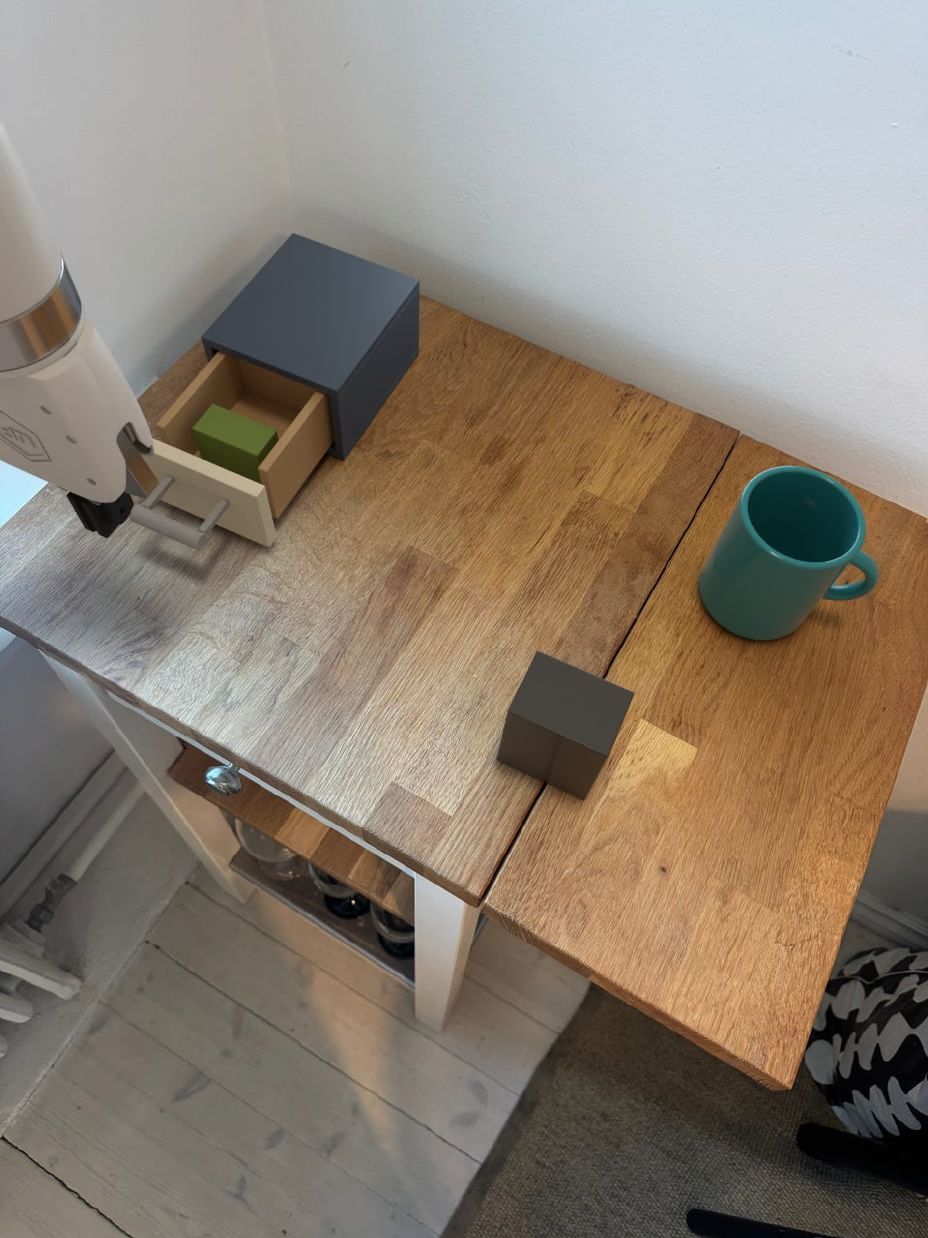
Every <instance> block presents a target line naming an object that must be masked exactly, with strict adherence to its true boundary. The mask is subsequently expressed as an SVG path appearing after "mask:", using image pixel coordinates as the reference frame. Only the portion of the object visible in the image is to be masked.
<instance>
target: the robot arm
mask: <svg viewBox="0 0 928 1238" xmlns="http://www.w3.org/2000/svg"><path fill="white" fill-rule="evenodd" d="M16 145H17V144H15V141H14V139H13V135H12V133H11V132H10V129H9V126H8V125H7V122H6V120H5V117H4V115H3V112H2V110H1V109H0V461H1V462H3V463H6V464H7V465H10V466H12V467H14V468H16V469H18V470H20V471H23V472H25V473H27V474H29V475H31V476H34V477H36V478H38V479H40V480H43V481H45V482H47V483H49V484H52V485H54V486H56V487H57V488H58V489H60V490H61V491H64V492H68V493H67V494H66V495H65V497H66V498H67V500H68V502H69V503H70V505H71V507H72V508H73V510H74V512H75V513H76V515H77V517H78V519H79V520H80V522H81V524H82V525H83V527H84V529H85V530H87V531H90V532H91V533H96V532H97V534H98V535H99V536H100V537H103V538H105V539H108V538H110V537H111V536H112V534H114V533H115V531H116V529H117V528H119V526H122V525H123V524H124V523H126V521H127V520H128V519H129V515H130V513H131V510H132V508H133V507H134V506H135V502H134V500H133V497H132V496H135V497H138V498H141V499H147V498H148V497H149V496H150V494H151V492H152V491H153V490H154V489H155V487H156V486H157V485H158V484H159V482H158V480H157V478H156V477H155V475H154V474H153V472H152V471H151V469H150V468H149V466H148V465H147V463H146V462H145V460H144V459H143V457H142V456H141V455H146V456H152V455H153V454H154V444H153V439H154V438H153V437H152V432H151V430H150V428H149V425H148V422H147V420H146V417H145V415H144V413H143V410H142V408H141V406H140V404H139V402H138V400H137V398H136V396H135V394H134V392H133V390H132V388H131V386H130V384H129V382H128V380H127V379H126V375H124V372H123V371H122V369H121V367H120V366H119V364H118V362H117V360H116V359H115V357H114V355H113V353H112V352H111V351H110V349H109V347H108V345H107V344H106V342H105V340H104V339H103V338H102V336H101V335H100V333H99V332H98V331H97V329H96V327H95V326H94V324H93V323H92V322H91V321H90V320H88V319H87V318H86V310H85V306H84V304H83V301H82V299H81V296H80V294H79V291H78V289H77V286H76V285H75V282H74V280H73V278H72V277H73V276H72V275H71V272H70V270H69V268H68V265H67V263H66V260H65V258H64V256H63V253H62V251H61V249H60V247H59V244H58V242H57V240H56V237H55V234H54V232H53V230H52V228H51V226H50V223H49V221H48V219H47V216H46V213H45V210H44V209H43V206H42V204H41V202H40V199H39V198H38V195H37V193H36V191H35V188H34V186H33V183H32V180H31V179H30V175H29V174H28V172H27V169H26V167H25V164H24V162H23V159H22V157H21V156H20V152H19V150H18V147H17V146H16ZM152 438H153V439H152ZM131 495H132V496H131Z"/></svg>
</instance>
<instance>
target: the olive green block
mask: <svg viewBox="0 0 928 1238" xmlns="http://www.w3.org/2000/svg"><path fill="white" fill-rule="evenodd" d="M192 430H193V433H194V436H195V439H196V442H197V446H198V449H199V452H200V455H201V458H202V459H203V460H205V461H207V462H210V463H212V464H214V465H217V466H219V467H221V468H224V469H226V470H228V471H231V472H233V473H236V474H238V475H240V476H243V477H245V478H247V479H250V480H252V481H254V482H257V483H259V484H261V485H262V483H261V479H260V475H259V470H258V467H259V466H260V465H261V463H262V462H263V461H264V459H265V458H266V457H267V455H268V454H269V453H270V451H271V450H272V449H273V447H274V446H275V445H276V443H277V442H278V441H279V439H278V434H277V430H276V429H273V428H271V427H268V426H266V425H263V424H261V423H259V422H256V421H254V420H251V419H249V418H247V417H244V416H242V415H239V414H237V413H234V412H232V411H230V410H227V409H225V408H222V407H220V406H217V405H215V404H212V405H211V406H210V407H209V409H208V410H207V411H206V412H205V413H204V415H203V416H202V417H201V418H200V419H199V421H198V422H197V423H196V424H195V425H194V427H193V428H192Z"/></svg>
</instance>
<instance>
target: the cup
mask: <svg viewBox="0 0 928 1238" xmlns="http://www.w3.org/2000/svg"><path fill="white" fill-rule="evenodd" d="M866 535H867V523H866V517H865V514H864V511H863V509H862V507H861V505H860V503H859V502H858V500H857V499H856V497H855V496H854V495H853V494H852V493H851V492H850V490H849V489H848V488H846V487H845V486H844V485H843V484H842V483H840V482H839V481H838V480H836V479H834V478H833V477H831V476H830V475H828V474H826V473H824V472H821V471H819V470H816V469H813V468H809V467H806V466H805V467H804V466H798V465H782V466H775V467H771V468H768V469H766V470H763V471H760V473H758V474H756V475H755V476H754V477H753V478H751V479H750V480H749V481H748V483H747V484H746V485H745V487H744V488H743V490H742V492H741V494H740V495H739V497H738V499H737V502H736V503H735V505H734V507H733V509H732V510H731V512H730V514H729V517H728V518H727V520H726V521H725V524H724V526H723V527H722V529H721V532H720V533H719V535H718V537H717V539H716V541H715V542H714V544H713V547H711V550H710V552H709V554H708V556H707V558H706V560H705V561H704V563H703V566H702V568H701V570H700V573H699V579H698V585H699V586H698V587H699V588H698V589H699V594H700V598H701V601H702V604H703V605H704V608H705V609H706V611H707V612H708V613H709V615H710V616H711V617H712V618H713V620H715V622H716V623H718V624H719V625H720V626H721V627H722V628H724V629H726V631H729V632H730V633H733V634H734V635H737V636H738V637H742V638H744V639H745V638H746V639H750V640H754V641H772V640H776V639H778V640H779V639H781V638H783V637H787V636H788V635H790V634H792V633H793V632H795V631H796V630H797V629H798V628H799V627H800V626H801V625H802V624H803V623H804V622H805V621H806V619H807V618H808V617H809V616H810V614H811V613H812V612H813V611H814V610H815V608H816V607H817V605H818V604H819V603H820V602H821V600H826V601H834V602H845V601H852V600H857V599H860V598H862V597H865V596H867V595H868V594H870V593H871V592H872V591H873V590H874V589H875V588H876V586H877V585H878V582H879V576H880V573H879V572H880V571H879V567H878V565H877V563H876V561H875V560H874V559H873V557H871V556H870V555H869V554H868V553H867V552H864V551H863V550H861V549H862V548H863V546H864V543H865V541H866ZM849 565H851V566H852V567H853V566H854V567H855V568H857V569H858V570H860V571H861V572H862V573H863V575H864V577H862V578H861V579H859V580H858V581H856V582H852V583H847V584H846V583H845V584H836V582H837V580H838V579H839V578H840V576H841V575H842V574H843V573H844V572H845V570H846V569H847V568H848V566H849Z"/></svg>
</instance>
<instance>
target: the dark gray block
mask: <svg viewBox="0 0 928 1238" xmlns="http://www.w3.org/2000/svg"><path fill="white" fill-rule="evenodd" d="M634 696H635V691H632V690H630V689H627V688H625V687H623V686H621V685H618V684H615V683H614V682H611V681H609V680H607V679H605V678H603V677H599V676H597V675H595V674H592V673H591V672H588V671H586V670H583V669H581V668H579V667H577V666H575V665H572V664H570V663H568V662H565V661H564V660H561V659H559V658H557V657H554V656H551V655H549V654H547V653H545V652H543V651H540V650H536V651H535V653H534V656H533V658H532V660H531V662H530V664H529V666H528V668H527V670H526V671H525V674H524V676H523V678H522V680H521V683H520V684H519V687H518V688H517V691H516V693H515V695H514V697H513V698H512V701H511V703H510V705H509V707H508V709H507V712H506V716H505V720H504V724H503V729H502V733H501V738H500V742H499V746H498V751H497V755H496V761H497V762H500V763H502V764H504V765H507V766H509V767H511V768H513V769H515V770H517V771H520V772H521V773H524V774H526V775H528V776H530V777H532V778H535V779H537V780H539V781H541V782H543V783H545V784H547V785H550V786H552V787H553V788H556V789H558V790H560V791H562V792H565V793H567V794H569V795H571V796H574V797H576V798H578V799H580V800H582V801H586V799H587V797H588V795H589V794H590V792H591V790H592V788H593V786H594V784H595V783H596V781H597V779H598V776H599V775H600V773H601V772H602V770H603V768H604V766H605V764H606V762H607V760H608V759H609V756H610V754H611V752H612V749H613V747H614V745H615V743H616V740H617V737H618V735H619V732H620V730H621V728H622V725H623V723H624V720H625V718H626V716H627V713H628V711H629V709H630V706H631V703H632V701H633V699H634Z"/></svg>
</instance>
